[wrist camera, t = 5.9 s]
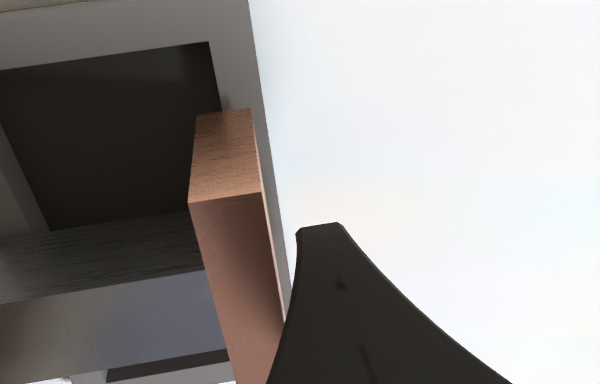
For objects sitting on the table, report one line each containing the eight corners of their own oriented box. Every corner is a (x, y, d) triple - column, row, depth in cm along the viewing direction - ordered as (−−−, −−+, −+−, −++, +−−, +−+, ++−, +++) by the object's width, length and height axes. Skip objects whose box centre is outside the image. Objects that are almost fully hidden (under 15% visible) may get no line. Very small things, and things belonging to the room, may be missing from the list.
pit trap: (299, 345, 15) (303, 368, 14) (91, 382, 14) (85, 407, 14) (244, -21, 9) (245, -13, 9) (-92, 24, 9) (-118, 36, 8)
